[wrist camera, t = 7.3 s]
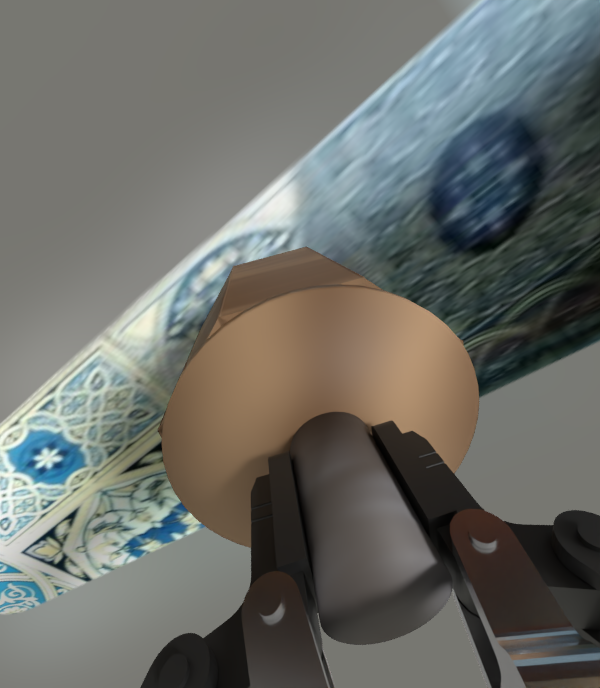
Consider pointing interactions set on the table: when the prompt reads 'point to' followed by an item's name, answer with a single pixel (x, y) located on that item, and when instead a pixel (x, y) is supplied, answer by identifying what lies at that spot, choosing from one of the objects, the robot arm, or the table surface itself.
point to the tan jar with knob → (324, 429)
